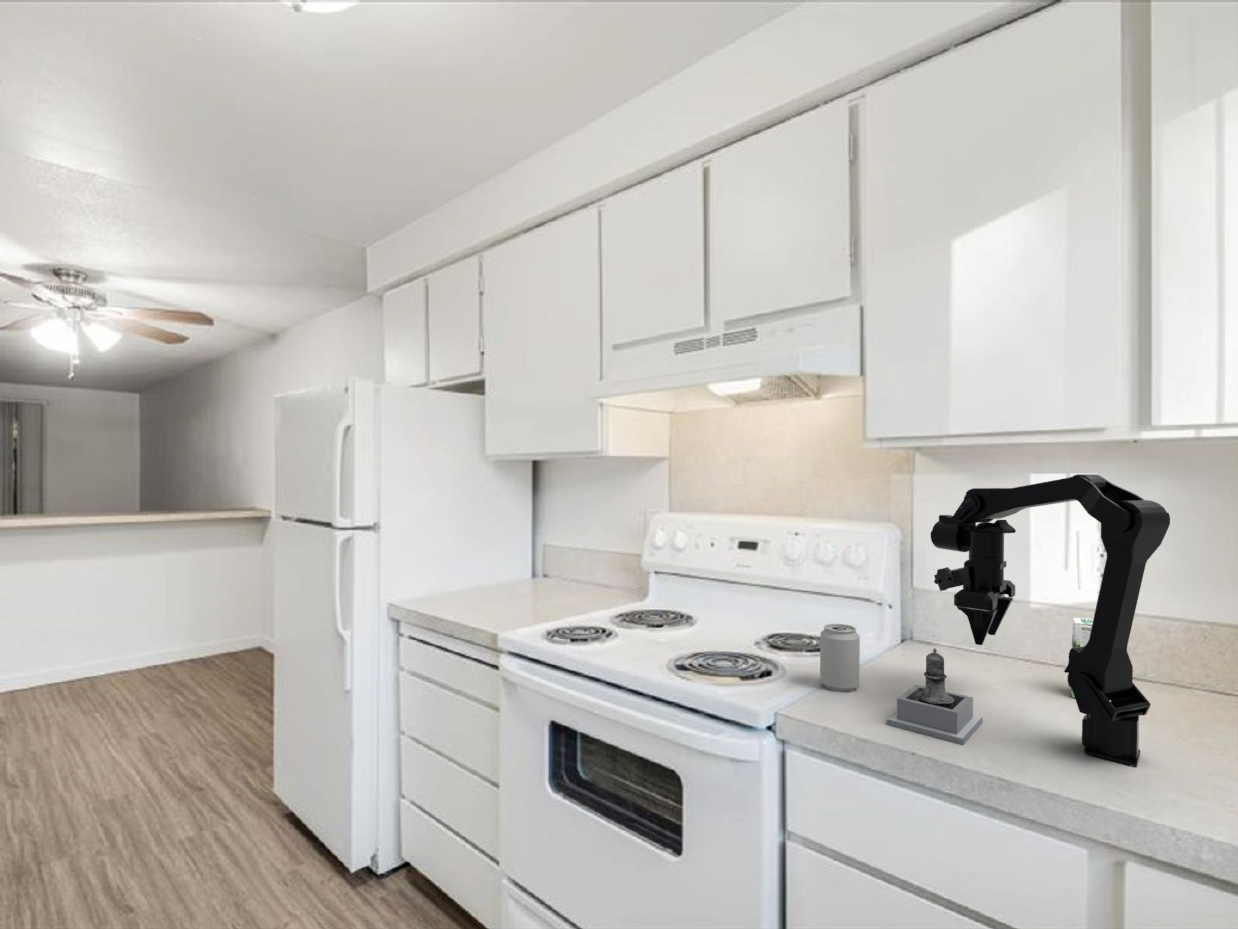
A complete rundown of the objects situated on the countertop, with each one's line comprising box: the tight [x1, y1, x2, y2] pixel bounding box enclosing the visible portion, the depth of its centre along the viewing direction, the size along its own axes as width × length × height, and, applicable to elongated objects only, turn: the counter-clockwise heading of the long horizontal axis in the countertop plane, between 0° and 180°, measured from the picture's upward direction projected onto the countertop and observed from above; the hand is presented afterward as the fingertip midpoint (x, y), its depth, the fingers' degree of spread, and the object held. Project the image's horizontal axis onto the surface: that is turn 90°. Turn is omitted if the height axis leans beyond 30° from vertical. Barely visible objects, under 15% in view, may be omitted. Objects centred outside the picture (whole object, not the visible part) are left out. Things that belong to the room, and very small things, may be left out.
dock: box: [886, 684, 984, 745], centre depth 114 cm, size 12×12×4 cm
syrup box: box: [1070, 617, 1094, 699], centre depth 127 cm, size 6×6×14 cm
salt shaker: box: [917, 648, 954, 709], centre depth 114 cm, size 6×6×12 cm
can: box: [819, 623, 861, 692], centre depth 133 cm, size 8×8×12 cm
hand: (985, 639), depth 123 cm, fingers open, 9 cm apart
